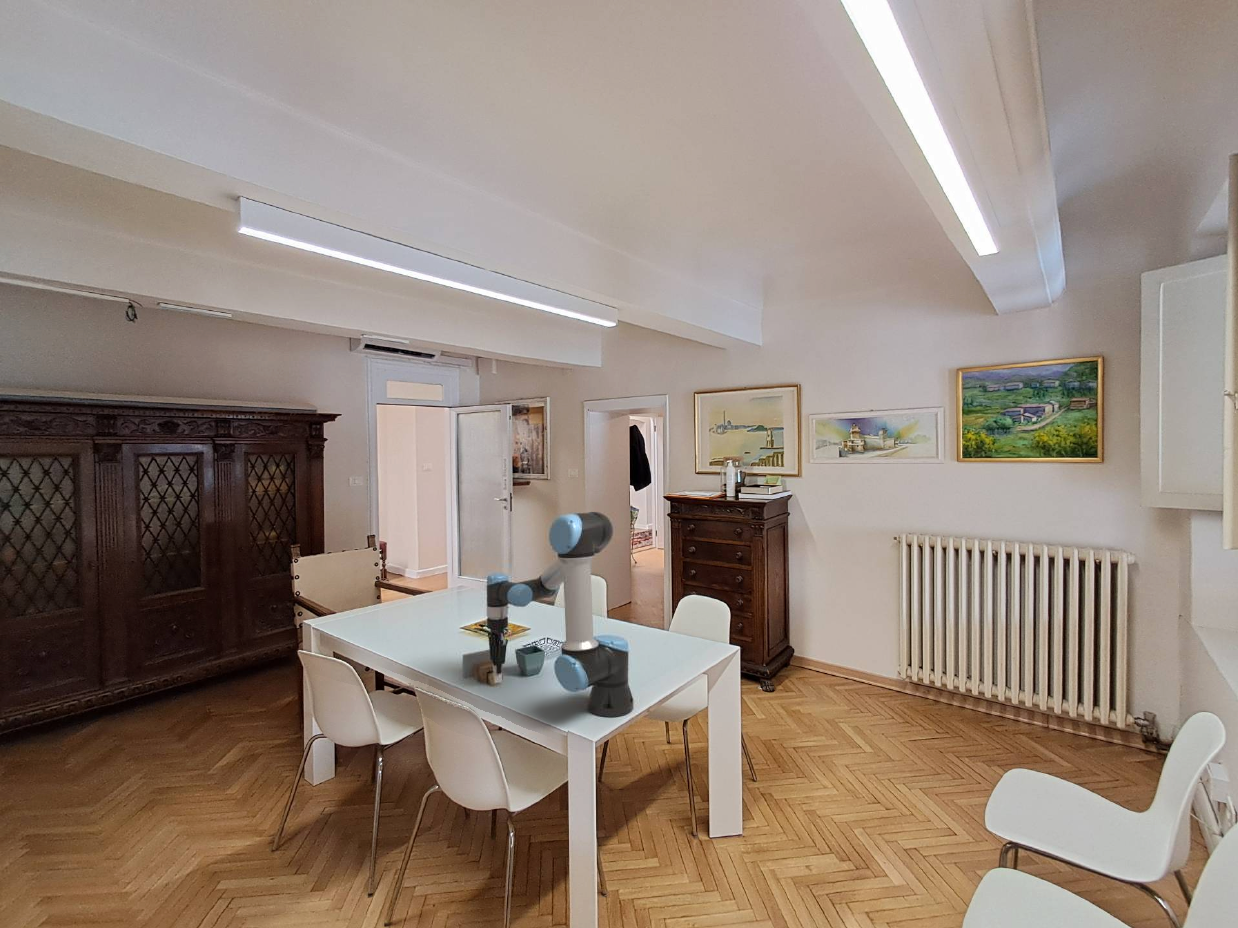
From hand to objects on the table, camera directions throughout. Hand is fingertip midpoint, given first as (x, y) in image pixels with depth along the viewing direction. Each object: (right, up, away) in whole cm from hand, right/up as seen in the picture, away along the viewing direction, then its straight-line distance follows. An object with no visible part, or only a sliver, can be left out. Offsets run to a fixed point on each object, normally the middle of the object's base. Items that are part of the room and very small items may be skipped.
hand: (497, 681), depth 206 cm
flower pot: (+10, -2, +12) cm, 16 cm away
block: (-5, -1, +7) cm, 9 cm away
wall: (-9, -1, +13) cm, 16 cm away
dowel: (-3, -1, +5) cm, 6 cm away
